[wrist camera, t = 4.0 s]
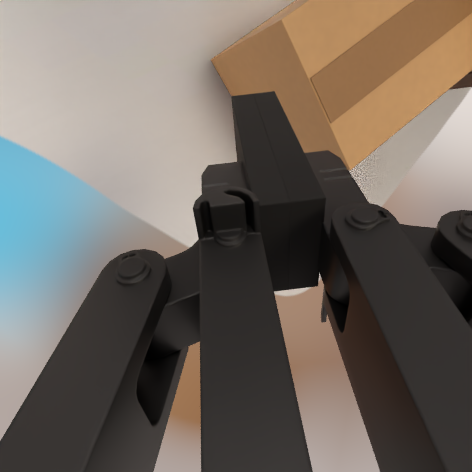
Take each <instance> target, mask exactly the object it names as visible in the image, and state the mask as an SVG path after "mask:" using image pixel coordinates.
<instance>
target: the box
mask: <svg viewBox="0 0 472 472" xmlns="http://www.w3.org/2000/svg"><path fill="white" fill-rule="evenodd" d="M211 61H212V63H213V65H214V67H215V68H216V70H217V72H218V74H219V75H220V77H221V79H222V81H223V82H224V84H225V86H226V88H227V89H228V91H229V93H230V95H231V96H237V95H245V94H254V93H263V92H272V91H275V93H276V95H277V97H278V99H279V101H280V104H281V106H282V108H283V110H284V112H285V114H286V116H287V118H288V120H289V122H290V124H291V126H292V128H293V130H294V132H295V134H296V137H297V139H298V141H299V143H300V145H301V147H302V149H303V151H304V153H308V152H317V151H325V150H328V151H330V152H332V153H333V154H335V155H337V156H338V157H340V158H341V160H342V161H343V163H344V164H345V166H346V169H347V170H351V169H352V168H354V167H355V166H356V165H357V164H359V163H360V162H361V161H362V160H363V159H365V158H366V157H367V156H368V155H369V154H371V153H372V152H373V151H374V150H376V149H377V148H378V147H379V146H380V145H382V144H383V143H384V142H385V141H386V140H388V139H389V138H390V137H391V136H393V135H394V134H395V133H396V132H397V131H399V130H400V129H401V128H402V127H403V126H405V125H406V124H407V123H408V122H410V121H411V120H412V119H413V118H414V117H416V116H417V115H418V114H419V113H421V112H422V111H423V110H424V109H425V108H427V107H428V106H429V105H430V104H431V103H433V102H434V101H435V100H436V99H438V98H439V97H440V96H441V95H442V94H444V93H445V92H446V91H447V90H448V89H450V88H451V87H452V86H453V85H455V84H456V83H457V82H458V81H459V80H461V79H462V78H463V77H464V76H465V75H467V74H468V73H469V72H470V71H472V0H296V1H294V2H293V3H291V4H290V5H288V6H287V7H286V8H284V9H283V10H281V11H280V12H278V13H277V14H276V15H274V16H273V17H271V18H270V19H268V20H267V21H266V22H264V23H263V24H261V25H260V26H258V27H257V28H255V29H254V30H253V31H251V32H250V33H248V34H247V35H245V36H244V37H243V38H241V39H240V40H238V41H237V42H235V43H234V44H233V45H231V46H230V47H228V48H227V49H225V50H224V51H223V52H221V53H220V54H218V55H217V56H215V57H214V58H213V59H211Z"/></svg>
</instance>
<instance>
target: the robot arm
mask: <svg viewBox="0 0 472 472" xmlns="http://www.w3.org/2000/svg"><path fill="white" fill-rule="evenodd" d="M231 97H232V108H233V119H234V130H235V141H236V152H237V162H233V163H224V164H215V165H208V167H207V168H206V170H205V171H204V172H203V174H202V195H201V196H200V197H199V198H198V199H197V200H196V201H195V204H194V207H193V212H194V217H195V222H196V227H197V232H198V237H199V240H198V241H197V242H196V243H195V244H194V245H193V246H192V247H190V248H189V249H187V250H186V251H184V252H182V253H179V254H177V255H175V256H172V257H169V258H166V259H164V258H163V256H161V255H160V254H158V253H157V252H155V251H151V250H146V249H142V250H132V251H129V252H126V253H123V254H120V255H119V256H117V257H116V258H114V259H113V260H111V261H110V262H109V263H108V264H107V265H106V266H105V268H104V269H103V270H102V271H101V273H100V275H99V276H98V278H97V280H96V282H95V283H94V285H93V287H92V288H91V290H90V292H89V293H88V295H87V297H86V298H85V300H84V302H83V303H82V305H81V307H80V308H79V310H78V312H77V313H76V315H75V317H74V318H73V320H72V322H71V323H70V325H69V327H68V329H67V330H66V332H65V334H64V335H63V337H62V339H61V340H60V342H59V344H58V345H57V347H56V349H55V351H54V352H53V354H52V355H51V357H50V359H49V360H48V362H47V364H46V365H45V367H44V369H43V370H42V372H41V374H40V375H39V377H38V379H37V381H36V382H35V384H34V386H33V387H32V389H31V391H30V392H29V394H28V396H27V398H26V399H25V401H24V402H23V404H22V406H21V408H20V409H19V411H18V412H17V414H16V416H15V418H14V419H13V421H12V422H11V424H10V426H9V428H8V429H7V431H6V433H5V434H4V436H3V438H2V439H1V441H0V472H153V471H154V467H155V464H156V460H157V457H158V453H159V450H160V446H161V443H162V439H163V436H164V432H165V429H166V425H167V422H168V418H169V415H170V411H171V408H172V404H173V401H174V397H175V394H176V390H177V387H178V383H179V379H180V376H181V373H182V369H183V366H184V362H185V358H186V355H187V352H188V346H190V345H192V344H195V343H197V342H199V341H200V377H201V379H200V383H201V472H313V471H312V467H311V462H310V457H309V453H308V448H307V444H306V439H305V434H304V430H303V425H302V420H301V416H300V412H299V407H298V402H297V397H296V393H295V388H294V383H293V379H292V374H291V369H290V365H289V360H288V355H287V351H286V347H285V342H284V337H283V332H282V328H281V323H280V318H279V314H278V309H277V304H276V300H275V295H274V291H281V290H289V289H297V288H306V287H314V286H318V279H319V272H320V275H321V278H322V281H323V283H324V292H323V301H322V310H321V322H326V317H327V314H328V317H329V320H330V323H331V326H332V329H333V332H334V335H335V338H336V341H337V344H338V347H339V350H340V353H341V356H342V359H343V362H344V365H345V368H346V371H347V374H348V377H349V380H350V383H351V386H352V388H353V392H354V394H355V397H356V401H357V404H358V407H359V410H360V413H361V416H362V418H363V421H364V424H365V427H366V430H367V433H368V436H369V439H370V442H371V445H372V448H373V451H374V454H375V457H376V460H377V463H378V466H379V469H380V472H472V211H467V210H460V211H452V212H449V213H447V214H445V215H443V216H442V217H441V219H440V221H439V222H438V225H437V228H430V227H419V226H409V225H403V224H399V223H398V221H397V220H396V218H395V217H394V216H393V215H392V214H391V213H390V212H389V211H388V210H386V209H384V208H382V207H380V206H378V205H375V204H370V203H369V202H368V201H367V199H366V198H365V196H364V194H363V193H362V191H361V190H360V188H359V187H358V185H357V183H356V182H355V180H354V179H353V178H352V175H351V174H350V172H349V171H348V170H347V169H346V166H345V164H344V163H343V161H342V160H341V158H340V157H338V156H337V155H335V154H333V153H332V152H330V151H328V150H325V151H317V152H308V153H304V151H303V149H302V147H301V145H300V143H299V141H298V139H297V137H296V134H295V132H294V130H293V128H292V126H291V124H290V122H289V120H288V118H287V116H286V114H285V112H284V110H283V108H282V106H281V104H280V101H279V99H278V97H277V95H276V93H275V91H272V92H263V93H254V94H245V95H237V96H231Z"/></svg>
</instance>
